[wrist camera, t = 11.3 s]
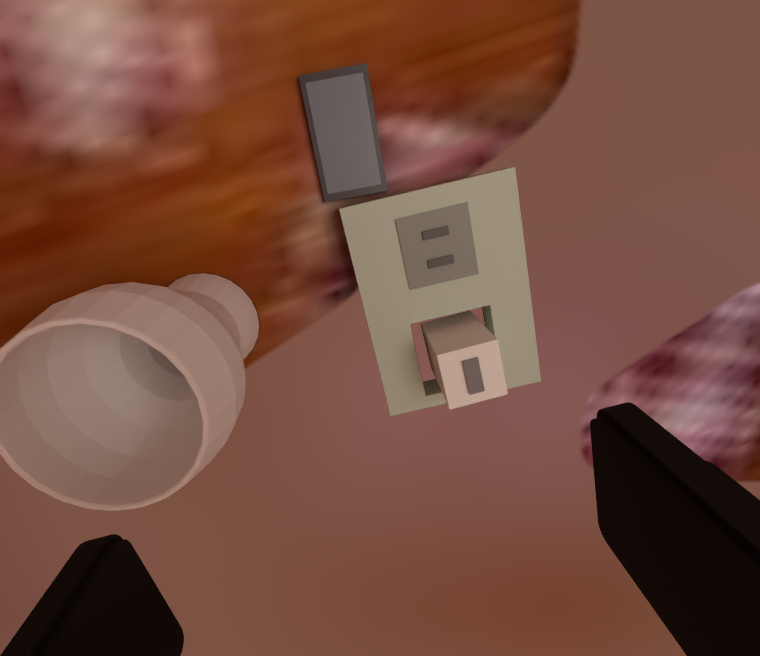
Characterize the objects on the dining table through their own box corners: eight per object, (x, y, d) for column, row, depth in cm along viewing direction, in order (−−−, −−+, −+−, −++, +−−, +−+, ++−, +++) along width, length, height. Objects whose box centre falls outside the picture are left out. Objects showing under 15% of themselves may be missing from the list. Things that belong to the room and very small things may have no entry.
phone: (300, 80, 29) (298, 75, 28) (366, 68, 29) (366, 62, 28) (325, 201, 32) (324, 202, 30) (386, 190, 32) (387, 190, 30)
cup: (191, 407, 35) (80, 555, 21) (106, 296, 32) (-93, 380, 18) (303, 347, 34) (267, 459, 20) (227, 227, 31) (119, 256, 17)
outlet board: (340, 207, 31) (338, 209, 28) (502, 168, 31) (516, 166, 28) (388, 401, 36) (390, 418, 33) (528, 368, 36) (542, 382, 33)
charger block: (420, 323, 34) (437, 357, 27) (469, 310, 34) (498, 340, 27) (431, 368, 35) (450, 411, 29) (478, 356, 35) (509, 395, 28)
